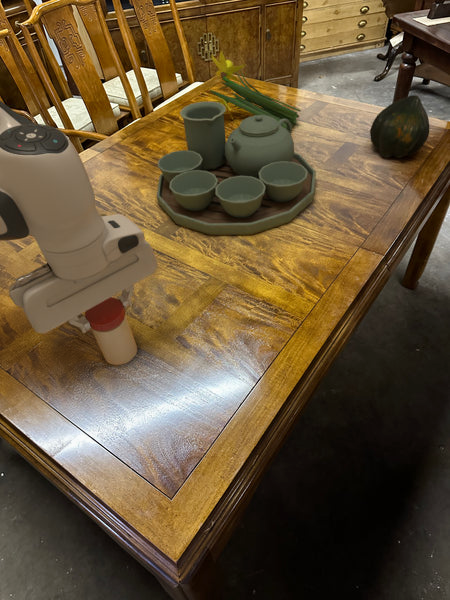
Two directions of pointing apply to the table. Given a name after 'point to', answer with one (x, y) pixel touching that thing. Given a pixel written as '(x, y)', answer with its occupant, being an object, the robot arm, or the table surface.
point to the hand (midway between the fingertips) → (106, 316)
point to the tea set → (234, 174)
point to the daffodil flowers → (249, 95)
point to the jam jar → (117, 343)
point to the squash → (400, 128)
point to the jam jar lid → (106, 315)
